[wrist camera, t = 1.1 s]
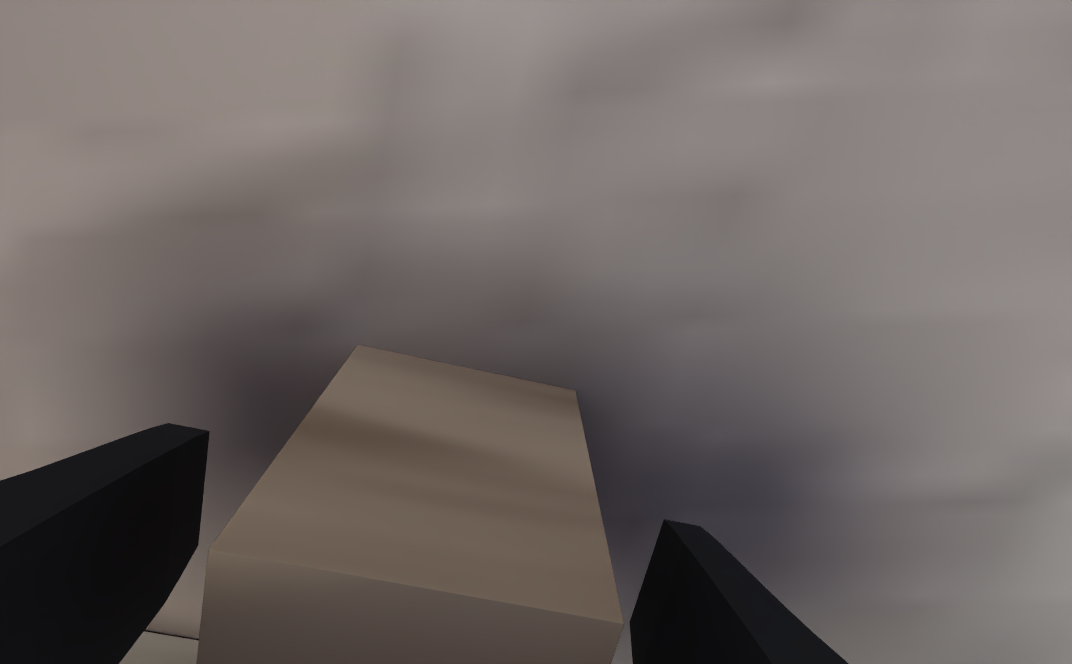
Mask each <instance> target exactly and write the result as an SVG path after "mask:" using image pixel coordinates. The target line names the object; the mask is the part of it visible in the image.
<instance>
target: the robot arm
mask: <svg viewBox="0 0 1072 664" xmlns="http://www.w3.org/2000/svg"><path fill="white" fill-rule="evenodd" d="M208 441H209V431H206V430H201V429H196V428H191V427H186V426H181V425H175V424H170V423H167V424H164V425H160V426H156V427H153V428H150V429H146V430H143V431H141V432H138V433H135V434H132V435H129V436H126V437H123V438H121V439H118V440H115V441H112V442H110V443H107V444H104V445H101V446H99V447H96V448H93V449H91V450H88V451H85V452H82V453H79V454H77V455H74V456H71V457H68V458H66V459H63V460H60V461H57V462H54V463H52V464H49V465H46V466H43V467H41V468H38V469H35V470H32V471H29V472H26V473H23V474H20V475H17V476H14V477H10V478H7V479H4V480H1V481H0V664H119V663H120V662H121V661H122V659H123V658H124V657H125V655H126V654H127V653H128V651H129V650H130V649H131V647H132V646H133V645H134V644H135V642H136V641H137V640H138V638H139V637H140V636H141V634H142V633H143V632H144V630H145V629H146V628H147V626H148V625H149V624H150V622H151V621H152V620H153V618H154V617H155V616H156V614H157V613H158V612H159V610H160V609H161V607H162V606H163V605H164V603H165V602H166V600H167V598H168V597H169V595H170V593H171V592H172V590H173V588H174V587H175V585H176V583H177V582H178V580H179V578H180V577H181V575H182V573H183V571H184V569H185V568H186V566H187V564H188V562H189V560H190V559H191V557H192V555H193V553H194V552H195V550H196V548H197V546H198V542H199V532H200V522H201V512H202V502H203V492H204V481H205V471H206V461H207V451H208ZM630 633H631V646H632V658H633V664H848V663H847V662H846V661H845V660H844V659H843V658H841V657H840V656H839V655H838V654H837V653H836V652H835V651H833V650H832V649H831V648H830V647H829V646H828V645H827V644H825V643H824V642H823V641H822V640H821V639H820V638H819V637H817V636H816V635H815V634H814V633H813V632H812V631H811V630H810V629H809V628H808V627H806V626H805V625H804V624H803V623H802V622H801V621H800V620H799V619H798V618H797V617H796V616H795V615H793V614H792V613H791V612H790V611H789V610H788V609H787V608H786V607H785V606H784V605H783V604H782V603H781V602H780V601H779V600H778V599H777V598H776V597H775V596H774V595H772V594H771V593H770V592H769V591H768V590H767V589H766V588H765V587H764V586H763V585H762V584H761V583H760V582H759V581H758V580H757V579H756V578H755V577H754V576H753V575H752V574H751V573H750V572H749V571H748V570H747V569H746V568H745V567H744V566H743V565H742V564H741V563H740V562H739V561H738V560H737V559H736V558H735V557H734V556H733V555H732V554H731V553H729V552H728V551H727V550H726V549H725V548H724V547H723V546H722V545H721V544H720V543H719V542H718V541H717V540H716V539H715V538H713V537H712V536H711V535H710V534H709V533H708V532H706V531H705V530H704V529H703V528H702V527H700V526H695V525H690V524H685V523H680V522H675V521H670V520H664V521H663V524H662V527H661V530H660V533H659V536H658V539H657V542H656V545H655V548H654V551H653V554H652V557H651V560H650V563H649V566H648V569H647V572H646V575H645V578H644V581H643V584H642V587H641V590H640V593H639V596H638V599H637V602H636V605H635V608H634V611H633V614H632V617H631V620H630Z"/></svg>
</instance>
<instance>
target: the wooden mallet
mask: <svg viewBox="0 0 1072 664" xmlns="http://www.w3.org/2000/svg"><path fill="white" fill-rule="evenodd" d="M623 625H624V621H623V617H622V612H621V607H620V602H619V597H618V593H617V588H616V583H615V578H614V574H613V569H612V564H611V559H610V554H609V550H608V545H607V540H606V535H605V530H604V526H603V521H602V516H601V511H600V506H599V502H598V497H597V492H596V487H595V482H594V478H593V473H592V468H591V463H590V458H589V454H588V449H587V444H586V439H585V434H584V430H583V425H582V420H581V415H580V410H579V406H578V401H577V396H576V391H575V390H571V389H566V388H561V387H556V386H552V385H547V384H542V383H537V382H533V381H528V380H523V379H518V378H514V377H509V376H504V375H499V374H495V373H490V372H485V371H480V370H476V369H471V368H466V367H461V366H457V365H452V364H447V363H442V362H438V361H433V360H428V359H423V358H419V357H414V356H409V355H404V354H400V353H395V352H390V351H385V350H381V349H376V348H371V347H366V346H362V345H357V347H356V348H355V349H354V351H353V352H352V353H351V355H350V356H349V357H348V359H347V360H346V362H345V363H344V364H343V366H342V367H341V368H340V370H339V371H338V373H337V374H336V375H335V377H334V378H333V379H332V381H331V382H330V384H329V385H328V386H327V388H326V389H325V390H324V392H323V393H322V395H321V396H320V397H319V399H318V400H317V401H316V403H315V404H314V405H313V407H312V408H311V410H310V411H309V412H308V414H307V415H306V416H305V418H304V419H303V421H302V422H301V423H300V425H299V426H298V427H297V429H296V430H295V432H294V433H293V434H292V436H291V437H290V438H289V440H288V441H287V442H286V444H285V445H284V447H283V448H282V449H281V451H280V452H279V453H278V455H277V456H276V458H275V459H274V460H273V462H272V463H271V464H270V466H269V467H268V469H267V470H266V471H265V473H264V474H263V475H262V477H261V478H260V480H259V481H258V482H257V484H256V485H255V486H254V488H253V489H252V490H251V492H250V493H249V495H248V496H247V497H246V499H245V500H244V501H243V503H242V504H241V506H240V507H239V508H238V510H237V511H236V512H235V514H234V515H233V517H232V518H231V519H230V521H229V522H228V523H227V525H226V526H225V527H224V529H223V530H222V532H221V533H220V534H219V536H218V537H217V538H216V540H215V541H214V543H213V544H212V545H211V547H210V548H209V550H208V559H207V568H206V578H205V587H204V597H203V606H202V615H201V625H200V634H199V644H198V653H197V662H196V664H611V662H612V659H613V656H614V653H615V650H616V647H617V644H618V641H619V638H620V635H621V631H622V628H623Z"/></svg>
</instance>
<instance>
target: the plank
mask: <svg viewBox="0 0 1072 664" xmlns="http://www.w3.org/2000/svg"><path fill="white" fill-rule="evenodd" d="M198 644H199V641H198V640H192V639H186V638H180V637H174V636H168V635H162V634H156V633H150V632H143V633H142V634H141V636H140V637H139V638H138V640H137V641H136V642H135V644H134V645H133V646H132V647H131V649H130V650H129V651H128V653H127V654H126V655H125V657H124V658H123V659H122V661H121V662H120V663H119V664H196V662H197V653H198Z"/></svg>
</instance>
